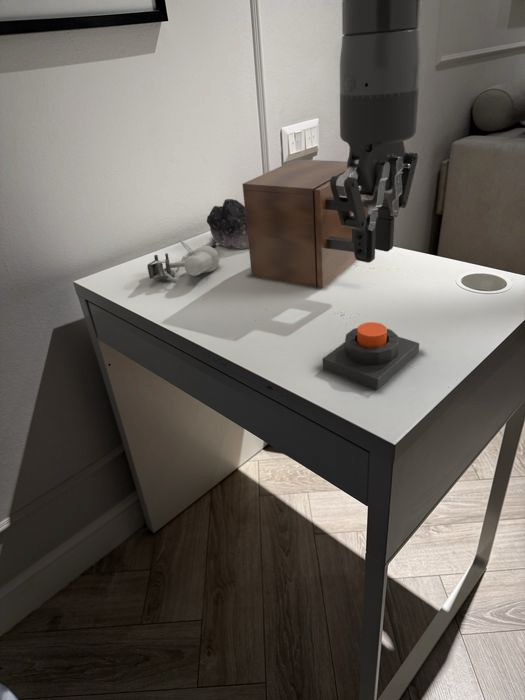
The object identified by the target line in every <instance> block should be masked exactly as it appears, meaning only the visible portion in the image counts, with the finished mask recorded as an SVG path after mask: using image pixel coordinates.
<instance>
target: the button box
mask: <svg viewBox="0 0 525 700" xmlns="http://www.w3.org/2000/svg"><path fill="white" fill-rule="evenodd" d="M357 328H358V327H356V328H352V329H351V330H350V331H348V332H347V333H346V334H345V339H344V342H343V343H342V344H340V345H339V346H338V347H336V348H335V349H334V350H332V351H331V352H330V353H328V354H327V355H326V356H324V357H323V358H322V370H324V371H327V372H330V373H332V374H335V375H337V376H339V377H342V378H345V379H348V380H349V381H352V382H355V383H358V384H359V385H362V386H365V387H368V388H370V389H372V390H375V391H379V390H380V389H381V388H382V387H383V386H384V385H385V384H387V383H388V382H389V381H390V380H391V379H392V378H393V377H394V376H396V375H397V374H398V372H400V371H401V370H402V369H403V368H404V367H406V366H407V364H409V363H410V362H412V361H413V359H415V357H417V356H418V355H419V352H420V342H417V341H414V340H411V339H407V338H404V337H401V336H399V335H398V334H397V333H396V332H395V331H393V329H392V330H391V329H390V328H387V340H386V344H385V345H384V346H380V347H365V346H362V345H359V344H358V342H357Z"/></svg>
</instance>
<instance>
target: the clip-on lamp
mask: <svg viewBox="0 0 525 700" xmlns="http://www.w3.org/2000/svg"><path fill="white" fill-rule="evenodd" d="M178 241H179V242H180V243H181V245H182V247H184V248H185V250H186V251H187V252H188V253H189V254H191V256H189V257H186V256H185V255H183V256H182V257H181V260H180V261H178V262H170V258H169V254H168V253H164V255H165V256H164V257H165V259H163V260H159V256H158V254H154V256H153V257H154V260H152V261H151V262H149V263H148V264H147V265H146V266H147V272H148V276H149V279H150V280H153V279H155V278H158V277H168V278H169V279H171V280H172V281H177V280H178V275H177V273H178V272H179V271H180V268H184V271H186V273H187V274H188V275H190V276H193V277H195V276H198V275H201V274H204V273H211V272H214V271H215V270H216V269H217V268H218V266H219V264H220V256H219V253H218V251H217V250H216V249H215V248H217V246H221V245H220V243H213V244H212V245H210V246H209V245H201V246H198V247H196V248H195V249H194V250H193V249H192V248H191V247H190V246H188V244H186V243H185V242H184V241H183V240H181V238H179V239H178ZM164 264H165V267H164ZM172 269H175V270H173V271H172ZM171 274H172V275H171ZM173 275H174V277H173Z"/></svg>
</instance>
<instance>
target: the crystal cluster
mask: <svg viewBox="0 0 525 700" xmlns="http://www.w3.org/2000/svg"><path fill="white" fill-rule="evenodd" d="M206 217H207V218H206V223H207V224H208V225H209V229H210V234H211V235H212V238H213V240H214V242H215V244H217V243H220V245H219V246H222V247H224V248H228V249H229V248H236V249H249V243H248V233H247V224H246V214H245V205H244V204H243V203H241V202H240V201H239V200H236V199H233V198H227V199H224V201H223V203H222V205H220V206H219V205H214V206H213V207H212V208H211V210H210V213H209V214H208V215H207V216H206Z"/></svg>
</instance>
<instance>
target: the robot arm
mask: <svg viewBox="0 0 525 700" xmlns="http://www.w3.org/2000/svg"><path fill="white" fill-rule="evenodd" d="M341 1H342V2H341V34H342V36H341V48H340V57H339V136H340V139H341V140H342V141H343V142H345V143H347V144H348V146H349V154H348V158H347V161H346V162H347V170H346V171H345V172H344V174H343V175H342V176H332V178H331V180H330V187H331V190H332V194H333V197H334V201H335V204H336V208H337V212H338V215H339V219H340V222H341V225H342V226H345V227H350V228H353V229H354V244H355V245H354V254H355V258H356V260H357V261H359V262H363V263H366V264H369V263H372V262H373V261H374V260H375V259H376V250H377V251H381V252H389V251H391V250H393V248H394V237H395V236H394V235H395V234H394V233H395V219H397V217H398V216H399V213H400V208H401V209H405V208H406V207H407V206H408V205H407V204H408V201H409V197H410V192H411V188H412V184H413V180H414V176H415V173H416V167H417V163H418V159H419V155H418V152H412V151H406V146H405V143H404V142H405V141H408V140H411V138H413V137H414V136H415V135H416V133H417V124H418V110H419V109H418V108H419V96H420V95H419V93H420V76H421V63H422V62H421V61H422V60H421V59H422V56H421V55H422V51H421V29H420V28H421V17H422V15H421V14H422V1H423V0H341ZM360 194H361V195H366V196H368V197H371V198H367V197H366V198H362V197H361V195H360ZM364 207H366V209H367V213H366V214H367V215H366V216H365V212H364ZM349 211H350V212H352V213H351V215H350V213H349ZM356 260H355V261H356Z"/></svg>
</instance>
